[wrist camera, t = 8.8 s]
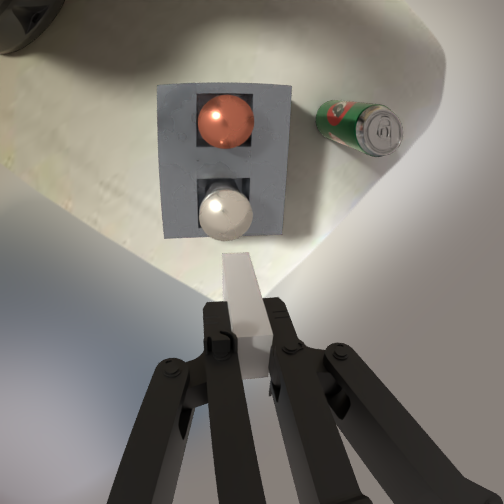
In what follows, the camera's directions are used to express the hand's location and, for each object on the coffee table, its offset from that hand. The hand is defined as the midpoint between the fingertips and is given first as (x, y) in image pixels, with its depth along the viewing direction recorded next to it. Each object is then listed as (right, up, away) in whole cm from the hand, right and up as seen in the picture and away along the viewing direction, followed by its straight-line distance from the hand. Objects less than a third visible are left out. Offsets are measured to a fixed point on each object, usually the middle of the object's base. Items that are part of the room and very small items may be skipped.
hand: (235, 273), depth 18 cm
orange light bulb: (-2, +15, +13) cm, 20 cm away
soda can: (+11, +18, +17) cm, 27 cm away
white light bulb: (-2, +8, +15) cm, 18 cm away
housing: (-3, +13, +17) cm, 21 cm away
